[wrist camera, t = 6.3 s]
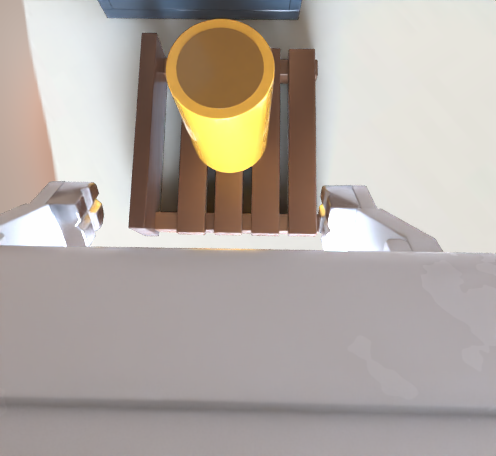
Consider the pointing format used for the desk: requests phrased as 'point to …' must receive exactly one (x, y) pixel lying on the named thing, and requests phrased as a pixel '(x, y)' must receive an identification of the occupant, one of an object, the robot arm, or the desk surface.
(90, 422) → the robot arm
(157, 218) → the brown slatted wooden rack
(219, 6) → the open rectangular storage bin
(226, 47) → the cup
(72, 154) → the desk surface
